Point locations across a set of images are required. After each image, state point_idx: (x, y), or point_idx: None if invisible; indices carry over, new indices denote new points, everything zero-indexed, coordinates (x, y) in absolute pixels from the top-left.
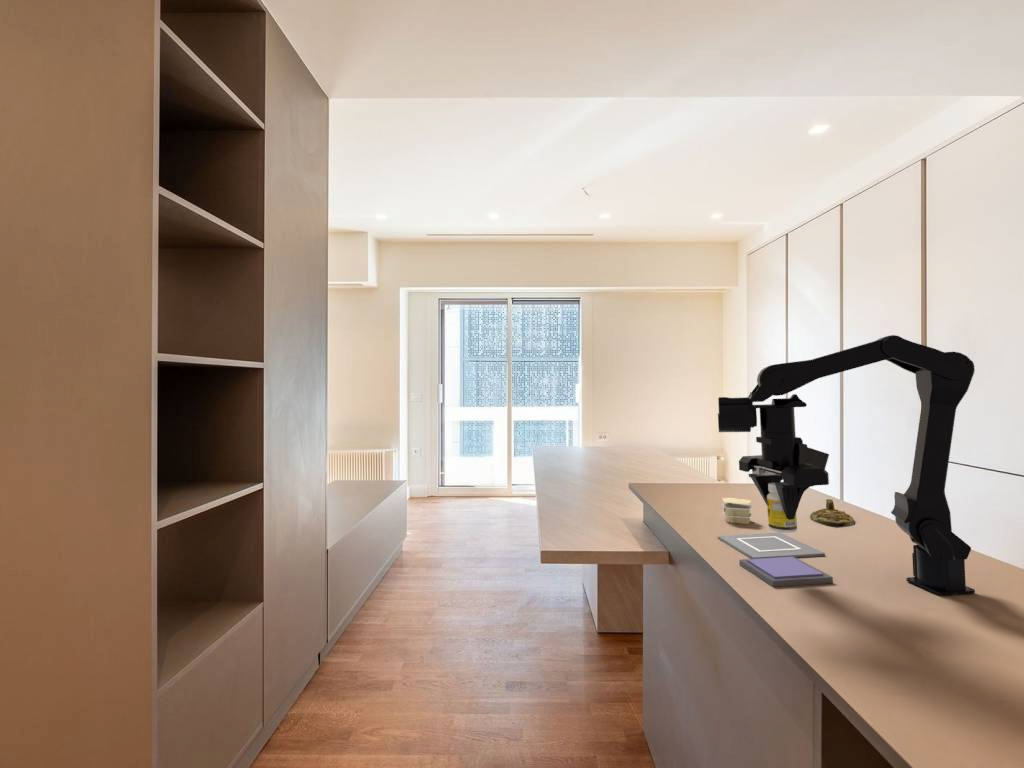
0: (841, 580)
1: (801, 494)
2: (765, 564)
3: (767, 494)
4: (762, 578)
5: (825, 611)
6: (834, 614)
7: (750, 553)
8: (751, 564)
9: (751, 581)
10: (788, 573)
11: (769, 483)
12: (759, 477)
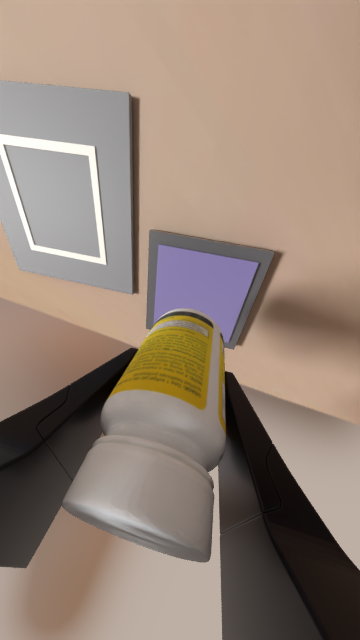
0: (272, 219)
1: (314, 518)
2: None
3: (99, 426)
4: None
5: (329, 349)
6: (344, 347)
7: (112, 284)
8: None
9: None
10: (227, 316)
11: (95, 526)
12: (24, 554)
